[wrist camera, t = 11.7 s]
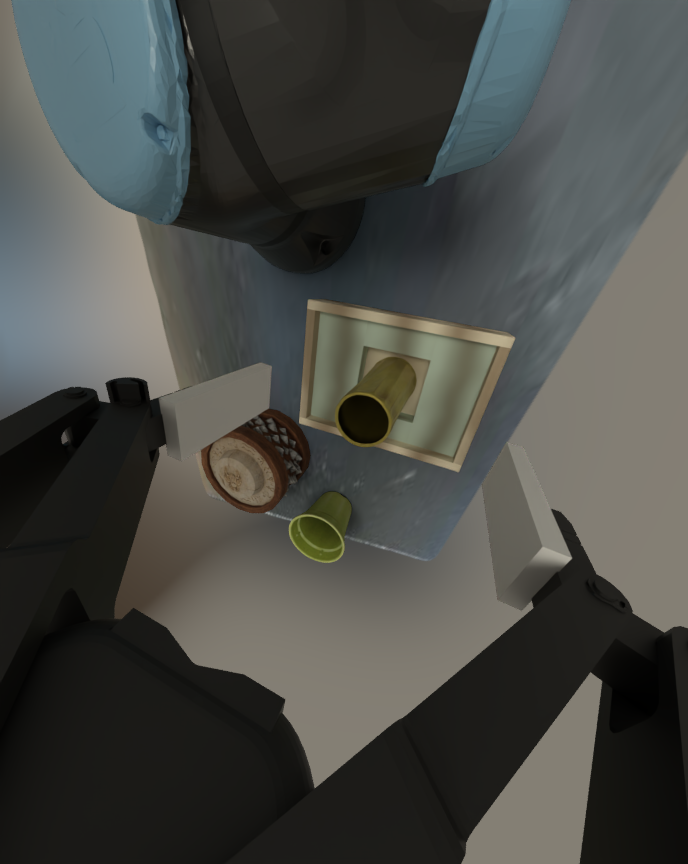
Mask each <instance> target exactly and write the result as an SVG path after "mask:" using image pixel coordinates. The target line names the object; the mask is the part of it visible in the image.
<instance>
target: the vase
mask: <svg viewBox="0 0 688 864" xmlns="http://www.w3.org/2000/svg"><path fill="white" fill-rule="evenodd" d="M416 382H417V380H416V373H415V371H414V369H413V368H412V366H411V365H410V364H409V363H408V362H407V361H406V360H404V359H402V358H399V357H387V358H384V359H382V360H380V361H379V362H377V363H376V364H375V365H374V367H373V368H372V369H371V370H370V371H369V372H368V373H367V375H366V376H365V377H364V378H363V379H362V380H361V381H360V382H359V383H358V384H357V385H356V386H355V387H353V388H352V389H351V390H350V391H349V392H348V393H347V394H346V395H345V396H343V398H342V399H341V400H340V402H339V403H338V405H337V407H336V410H335V422H336V426H337V428H338V430H339V432H340V433H341V435H342V436H343V437H344V438H345V439H346V440H347V441H349V442H350V443H352V444H354V445H356V446H360V447H372V446H375V445H378V444H380V443H382V442H383V441H384V440H385V439H386V438H387V437H388V435H389V434H390V432H391V430H392V428H393V426H394V424H395V422H396V420H397V418H398V416H399V415H400V413H401V411H402V409H403V407H404V406H405V404H406V402H407V401H408V399H409V397H410V396H411V395H412V393H413V392H414V390H415V387H416Z"/></svg>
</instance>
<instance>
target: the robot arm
mask: <svg viewBox="0 0 688 864" xmlns="http://www.w3.org/2000/svg"><path fill="white" fill-rule="evenodd" d="M11 1H12V7H13V13H14V18H15V23H16V27H17V31H18V36H19V40H20V44H21V48H22V51H23V55H24V59H25V62H26V65H27V68H28V72H29V75H30V78H31V81H32V84H33V87H34V89H35V92H36V95H37V98H38V100H39V103H40V105H41V108H42V110H43V112H44V115H45V117H46V119H47V121H48V123H49V126H50V128H51V130H52V132H53V133H54V135H55V137H56V139H57V141H58V143H59V145H60V146H61V148H62V150H63V151H64V153H65V155H66V156H67V158H68V159H69V161H70V162H71V164H72V165H73V166H74V168H75V169H76V171H77V172H78V173H79V174H80V175H81V176H82V177H83V178H84V179H86V180H87V182H88V183H89V185H90V186H91V187H92V188H93V189H94V190H95V191H96V192H97V193H98V194H99V195H100V196H101V197H102V198H104V199H105V200H107V201H108V202H109V203H111V204H113V205H115V206H116V207H118V208H121V209H123V210H125V211H128V212H132V213H134V214H137V215H139V216H142V217H145V218H147V219H149V220H150V221H152V222H154V223H156V224H163V225H168V224H170V225H174V226H178V227H182V228H186V229H190V230H194V231H198V232H202V233H206V234H210V235H214V236H218V237H222V238H226V239H230V240H234V241H238V242H242V243H247V244H250V245H251V246H252V247H253V248H254V249H255V250H256V251H257V252H258V253H259V254H260V255H261V256H262V257H263V258H265V259H266V260H267V261H268V262H270V263H271V264H273V265H274V266H276V267H278V268H280V269H283V270H286V271H290V272H295V273H314V272H318V271H321V270H323V269H325V268H327V267H329V266H330V265H332V264H333V263H334V262H336V261H337V260H338V259H339V258H340V257H341V256H342V255H343V254H344V252H345V251H346V250H347V249H348V247H349V246H350V244H351V242H352V241H353V239H354V237H355V235H356V233H357V230H358V228H359V225H360V222H361V218H362V214H363V210H364V204H365V197H368V196H372V195H377V194H381V193H385V192H389V191H393V190H397V189H402V188H406V187H410V186H414V185H418V184H423V187H425V186H430V185H432V184H433V183H434V182H435V181H436V180H437V179H438V178H442V177H445V176H448V175H451V174H455V173H458V172H461V171H464V170H468V169H471V168H474V167H478V166H481V165H484V164H486V163H488V162H490V161H491V160H493V159H494V158H496V157H497V156H498V155H499V154H500V153H501V152H502V151H503V150H504V149H505V148H506V147H507V146H508V144H509V143H510V142H511V141H512V140H513V138H514V137H515V135H516V134H517V132H518V130H519V128H520V127H521V125H522V123H523V122H524V120H525V118H526V116H527V115H528V113H529V111H530V108H531V106H532V104H533V102H534V99H535V97H536V95H537V93H538V90H539V88H540V86H541V83H542V81H543V78H544V76H545V73H546V71H547V68H548V65H549V63H550V60H551V57H552V55H553V52H554V49H555V46H556V43H557V41H558V38H559V35H560V32H561V29H562V26H563V23H564V21H565V18H566V15H567V12H568V9H569V6H570V3H571V0H11ZM271 370H272V366H270V365H267V364H264V363H261V362H260V363H257V364H255V365H252V366H249V367H246V368H243V369H240V370H237V371H235V372H232V373H229V374H226V375H223V376H220V377H217V378H215V379H212V380H209V381H206V382H203V383H200V384H197V385H195V386H190V387H187V388H184V389H182V390H179V391H176V392H174V393H170V394H167V395H164V396H162V397H159V398H156V399H153V400H150V397H149V391H148V386H147V382H146V381H145V380H142V379H139V378H118V379H113V380H110V381H108V382H106V387H107V391H108V395H109V399H110V403H107V402H101V401H99V399H98V395H97V392H96V391H95V390H94V389H90V388H81V387H75V388H74V387H70V388H68V389H63V390H60V391H57V392H55V393H53V394H51V395H49V396H47V397H45V398H43V399H41V400H39V401H37V402H35V403H34V404H31V405H30V406H28V407H26V408H24V409H22V410H20V411H18V412H16V413H14V414H13V415H10V416H8V417H7V418H4V419H2V420H1V421H0V864H461V863H462V861H463V859H464V856H465V853H466V842H467V840H468V838H469V836H470V834H471V833H472V831H473V830H474V828H475V827H476V826H477V824H478V823H479V822H480V820H481V819H482V817H483V816H484V815H485V813H486V812H487V811H488V809H489V808H490V807H491V805H492V804H493V803H494V801H495V800H496V799H497V797H498V796H499V794H500V793H501V792H502V791H503V789H504V788H505V786H506V785H507V784H508V782H509V781H510V780H511V778H512V777H513V776H514V774H515V773H516V772H517V770H518V769H519V768H520V766H521V765H522V764H523V762H524V761H525V759H526V758H527V757H528V756H529V754H530V753H531V751H532V750H533V749H534V747H535V746H536V745H537V743H538V742H539V741H540V739H541V738H542V737H543V735H544V734H545V733H546V731H547V730H548V729H549V727H550V726H551V725H552V723H553V722H554V721H555V719H556V718H557V716H558V715H559V714H560V712H561V711H562V710H563V708H564V707H565V706H566V704H567V703H568V702H569V700H570V699H571V698H572V696H573V695H574V694H575V692H576V691H577V690H578V688H579V687H580V685H581V684H582V683H583V681H584V680H585V679H586V677H587V676H588V675H589V673H590V672H591V673H592V674H594V675H595V676H596V677H598V678H599V679H601V680H602V689H601V697H600V705H599V714H598V721H597V730H596V737H595V745H594V753H593V762H592V770H591V777H590V786H589V794H588V801H587V810H586V818H585V826H584V835H583V842H582V850H581V858H580V864H688V628H684V627H681V626H679V627H673V628H672V629H670V630H668V631H667V632H665V633H664V632H662V631H661V630H659V629H657V628H656V627H654V626H652V625H651V624H649V623H648V622H646V621H644V620H642V619H641V618H639V617H638V616H636V615H634V614H633V613H632V608H631V606H630V604H629V602H628V600H627V599H626V598H625V597H624V595H623V594H622V593H621V592H620V591H619V590H618V589H617V588H616V587H615V586H614V585H612V584H611V583H610V582H608V581H607V580H605V579H604V578H602V577H601V576H599V575H597V574H596V572H595V570H594V568H593V566H592V564H591V562H590V560H589V558H588V556H587V554H586V552H585V550H584V548H583V546H581V542H580V540H579V538H578V537H577V536H576V535H577V534H576V532H575V530H574V528H573V526H572V524H571V523H570V522H569V521H568V520H567V518H566V517H565V516H564V515H563V514H562V513H561V512H559V511H556V510H553V509H551V508H550V507H549V504H548V502H547V500H546V497H545V495H544V493H543V491H542V488H541V486H540V484H539V482H538V479H537V477H536V475H535V472H534V470H533V468H532V465H531V463H530V461H529V459H528V456H527V454H526V452H525V450H524V447H521V446H518V445H515V444H512V443H509V442H506V444H505V446H504V447H503V449H502V451H501V453H500V454H499V456H498V458H497V459H496V461H495V463H494V465H493V466H492V468H491V470H490V472H489V473H488V475H487V477H486V478H485V480H484V482H483V484H482V489H483V496H484V503H485V511H486V518H487V526H488V533H489V541H490V548H491V555H492V563H493V570H494V578H495V585H496V592H497V599H498V600H499V601H501V602H503V603H506V604H508V605H510V606H512V607H515V608H517V609H519V610H523V609H524V608H525V607H526V606H527V605H528V603H530V602H531V600H532V603H533V607H534V608H533V609H532V610H531V611H530V612H528V613H527V614H526V615H525V616H524V617H523V618H521V619H520V620H519V621H518V622H517V623H515V624H514V625H513V626H512V627H511V628H510V629H508V630H507V631H506V632H505V633H504V634H502V635H501V636H500V637H499V638H498V639H496V640H495V641H494V642H493V643H492V644H490V645H489V646H488V647H487V648H486V649H485V650H483V651H482V652H481V653H480V654H479V655H477V656H476V657H475V658H474V659H473V660H471V661H470V662H469V663H468V664H467V665H466V666H465V667H463V668H462V669H461V670H460V671H459V672H457V673H456V674H455V675H454V676H453V677H451V678H450V679H449V680H448V681H447V682H445V683H444V684H443V685H442V686H441V687H439V688H438V689H437V690H436V691H435V692H434V693H432V694H431V695H430V696H429V697H428V698H426V699H425V700H424V701H423V702H422V703H420V704H419V705H418V706H417V707H416V708H415V709H413V710H412V711H411V712H410V713H408V714H407V715H406V716H405V717H403V718H402V719H399V720H398V721H396V722H395V723H393V724H392V725H391V726H390V727H388V728H387V729H386V730H385V731H383V732H382V733H381V734H380V735H379V736H377V737H376V738H375V739H374V740H373V741H371V742H370V743H369V744H368V745H367V746H365V747H364V748H363V749H362V750H361V751H360V752H358V753H357V754H356V755H355V756H353V757H352V758H351V759H350V760H349V761H347V762H346V763H345V764H344V765H343V766H341V767H340V768H339V769H338V770H337V771H335V772H334V773H333V774H332V775H331V776H329V777H328V778H327V779H326V780H325V781H323V783H321V784H320V785H319V786H317V787H316V788H314V784H313V780H312V774H311V770H310V766H309V763H308V760H307V757H306V754H305V751H304V748H303V746H302V744H301V742H300V739H299V737H298V735H297V733H296V732H295V730H294V728H293V727H292V725H291V723H290V722H289V721H288V720H287V718H286V717H285V716H284V715H283V713H282V712H283V708H284V703H285V699H284V698H282V697H280V696H279V695H277V694H275V693H274V692H272V691H270V690H269V689H267V688H265V687H264V686H262V685H260V684H259V683H257V682H256V681H254V680H252V679H251V678H249V677H247V676H246V675H243V674H238V673H233V672H228V671H223V670H218V669H213V668H208V667H203V666H198V665H196V664H194V663H193V662H192V661H191V660H190V659H189V657H188V656H187V654H186V653H185V652H184V650H183V649H182V648H181V646H180V645H179V644H178V642H177V641H176V640H175V638H174V637H173V636H172V634H171V633H170V632H169V630H168V629H167V628H166V627H164V626H162V625H161V624H159V623H158V622H156V621H154V620H152V619H151V618H149V617H148V616H146V615H144V614H143V613H141V612H139V611H138V610H136V609H134V608H133V609H132V610H131V611H130V612H129V613H128V614H127V615H126V616H124V617H123V618H122V619H114V607H115V601H116V597H117V594H118V590H119V587H120V584H121V581H122V577H123V574H124V571H125V567H126V564H127V561H128V557H129V554H130V551H131V547H132V544H133V541H134V538H135V534H136V531H137V528H138V524H139V521H140V518H141V514H142V511H143V508H144V504H145V501H146V498H147V494H148V491H149V488H150V484H151V481H152V478H153V475H154V471H155V468H156V465H157V461H158V458H159V447H161V446H163V445H165V444H166V447H167V454H168V456H170V457H173V458H175V459H177V460H179V461H183V460H185V459H186V458H188V457H190V456H191V455H193V454H195V453H197V452H198V451H200V450H201V449H203V448H205V447H206V446H208V445H210V444H211V443H213V442H215V441H216V440H218V439H219V438H221V437H223V436H224V435H226V434H228V433H229V432H231V431H233V430H234V429H236V428H237V427H239V426H241V425H242V424H244V423H246V422H247V421H249V420H251V419H252V418H254V417H255V416H257V415H259V414H260V413H262V412H264V411H265V410H267V409H269V402H270V386H271ZM64 431H65V434H66V436H67V439H68V441H67V442H66V443H64V444H62V441H61V437H62V434H63V432H64ZM7 547H8V548H7Z"/></svg>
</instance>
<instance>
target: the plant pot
mask: <svg viewBox="0 0 688 864" xmlns="http://www.w3.org/2000/svg"><path fill="white" fill-rule="evenodd" d="M351 511H352V508H351V504H350V502H349V501H348V499H347V498H345V497H343V496H342V495H341V494H340V493H337V492H326V493H324V494H323V495H322V496H321V497H320V498H319V499H318V500H317V501H316V502H315V503H314V504H313V505H312V506H311V507H310V508H309V509H308V510H307V511H306V512H304V513H302V514H301V515H298V516H296V517H295V518H294V519H293V520H292V521H291V523H290V525H289V535H290V538H291V540H292V542H293V544H294V545H295V546H296V548H297V549H298V550H299V551H300V552H302V553H303V554H304V555H306V556H307V557H309V558H311V559H313V560H316V561H319V562H327V563H328V562H334V561H336V560H338V559H339V558H340V557H341V556H342V555H343V552H344V549H345V544H344V536H345V532H346V529H347V526H348V522H349V519H350V515H351Z"/></svg>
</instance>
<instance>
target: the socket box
mask: <svg viewBox="0 0 688 864" xmlns="http://www.w3.org/2000/svg"><path fill="white" fill-rule="evenodd" d="M514 340H515V337H513V336H512V335H510V334H509V333H507V332H502V331H497V330H491V329H486V328H481V327H475V326H470V325H464V324H459V323H453V322H448V321H442V320H437V319H431V318H426V317H420V316H415V315H409V314H404V313H398V312H393V311H388V310H382V309H377V308H371V307H366V306H360V305H355V304H349V303H344V302H338V301H333V300H327V299H308V306H307V320H306V334H305V348H304V362H303V376H302V390H301V404H300V418H299V423H300V424H304V425H307V426H310V427H313V428H317V429H320V430H323V431H326V432H330V433H333V434H336V435H339V436H342V435H341V433H340V432H339V430H338V428H337V426H336V422H335V410H336V407H337V405H338V403H339V402H340V400H341V399H342V398H343V396H345V395H346V394H347V393H348V392H349V391H350V390H351V389H352V388H353V387H355V386H356V385H357V384H358V383H359V382H360V381H361V380H362V379H363V378H364V377H365V376H366V375H367V373H368V372H369V371H370V370H371V369H372V368H373V367H374V365H375V364H376V363H377V362H379V361H380V360H382V359H384V358H387V357H399V358H402V359H404V360H406V361H407V362H408V363H409V364H410V365H411V366H412V368H413V369H414V371H415V373H416V380H417V382H416V387H415V390H414V392H413V393H412V395H411V396H410V397H409V399H408V401H407V402H406V404H405V406H404V407H403V409H402V411H401V413H400V415H399V416H398V418H397V420H396V422H395V424H394V426H393V428H392V430H391V432H390V434H389V435H388V437H387V438H386V439H385V440H384V441H383V442H382V443H380V444H378V445H375V447H379V448H382V449H385V450H388V451H392V452H395V453H398V454H401V455H405V456H408V457H411V458H414V459H418V460H421V461H424V462H427V463H431V464H434V465H437V466H440V467H444V468H447V469H450V470H453V471H457V472H459V471H460V468H461V466H462V464H463V461H464V459H465V456H466V454H467V452H468V449H469V447H470V445H471V442H472V440H473V437H474V435H475V433H476V430H477V428H478V426H479V423H480V421H481V418H482V416H483V414H484V411H485V409H486V407H487V404H488V402H489V399H490V397H491V395H492V392H493V390H494V388H495V385H496V383H497V381H498V378H499V376H500V373H501V371H502V369H503V366H504V364H505V362H506V359H507V357H508V354H509V352H510V350H511V347H512V345H513V343H514Z"/></svg>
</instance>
